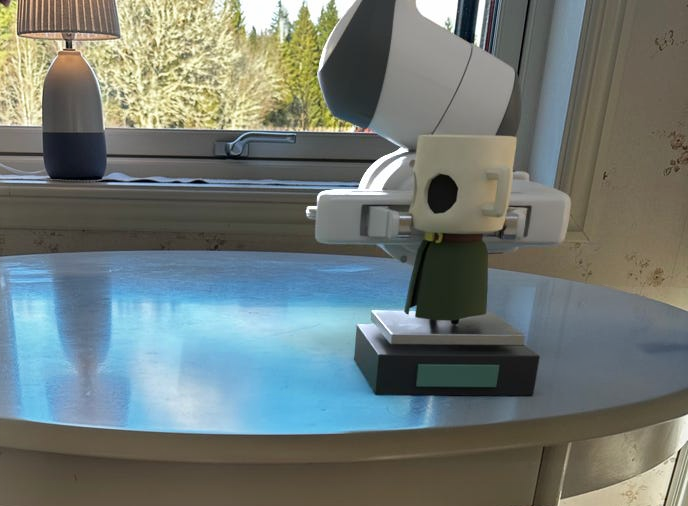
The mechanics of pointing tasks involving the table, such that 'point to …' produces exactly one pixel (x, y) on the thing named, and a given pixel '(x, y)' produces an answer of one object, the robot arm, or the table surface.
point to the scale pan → (445, 330)
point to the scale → (443, 367)
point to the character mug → (457, 221)
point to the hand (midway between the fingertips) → (458, 227)
